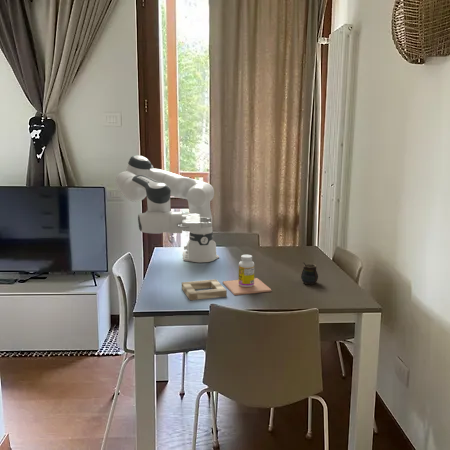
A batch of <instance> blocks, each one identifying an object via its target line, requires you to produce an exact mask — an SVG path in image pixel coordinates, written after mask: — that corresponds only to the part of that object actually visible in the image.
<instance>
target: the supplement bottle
mask: <svg viewBox="0 0 450 450" xmlns="http://www.w3.org/2000/svg"><path fill="white" fill-rule="evenodd" d="M254 278H255V262H254V261H253V254H252V255H251V254H242V255H241V256H240V261H239V262H238V280H239V285H240V286H241V287H252V286H253V285H254Z"/></svg>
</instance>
